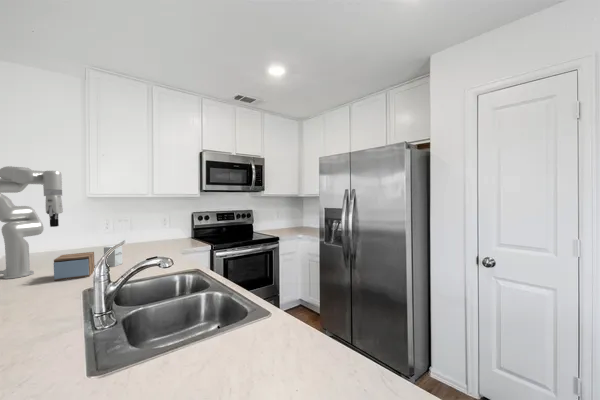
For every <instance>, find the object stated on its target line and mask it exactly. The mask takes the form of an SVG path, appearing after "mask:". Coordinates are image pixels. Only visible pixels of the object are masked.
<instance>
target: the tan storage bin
mask: <svg viewBox="0 0 600 400" xmlns="http://www.w3.org/2000/svg"><path fill="white" fill-rule="evenodd" d="M85 259H88V265H89V275H84V276H76V277H68V278H60V279H54V282H57V281H64V280H72V279H80V278H89V277H90V276H91V275H92V274H93V273H94V272H95V271H94V268H95V252H94V251H89V252H79V253H70V254H68V253H67V254H61V255H59V256H58V257H56V258H54V259H53V264H54V263H56V262H66V261H70V260H85ZM93 271H94V272H93Z"/></svg>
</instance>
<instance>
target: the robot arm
mask: <svg viewBox="0 0 600 400" xmlns="http://www.w3.org/2000/svg"><path fill="white" fill-rule="evenodd" d="M62 179H63V178H62V173H61V171H59V170H58V171H57V170H33V169H31V168H29V167H23V166H12V165H9V166H2V167H1V168H0V222H1V223H4V224H3V225H2V226H1V229H0V230H1V235H2V237H3V242H4V251H5V252H4V253H5V269H3V270H0V275H2V276H1V278H2V279H4V280H6V279H7V280H8V279H9V280H10V279H17V278H24V277H29V276H31V275H34V273H35V272H34V270H31V268H30V267H31V266H30V264H31V263H30V245H29V242H28V241H27V240H26V239H25V238H26V237H35V236H39V235H41V234H42V233H43V232H44V230H45V229H44V228H45V227H44V225H43V222H42V220H41V219H40V217H39V215H38V213H37V211H36V210H35V209H34V208H33V207H32V206H30V205H29V206H28V205H15V204H14V203H13V201H12V199H10V197H8V196H6V195H4V193H10V194H11V193H12V194H14V193H15V194H16V193H21V192H23V190H25V189H26V188H27V187H28V186H29V185H43V186H42V187H43V197H45V213H46V214H47V215H48V216H49V227H50V228H52V227H53V228H57V227H59V226H60V225H59V214H62V213H63V212H64V211H63V209H64V208H63V200H62V196H63V184H62V183H63V181H62Z"/></svg>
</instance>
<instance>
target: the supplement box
mask: <svg viewBox="0 0 600 400" xmlns="http://www.w3.org/2000/svg"><path fill="white" fill-rule="evenodd" d="M115 245H116V244H115ZM115 245H107V246H105V247H103V255H104V254H105V253H106V252H107V251H108V250H109V249H110V248H112V247H113V246H115ZM107 264H108V265H109V266H110V267H112V268H114V267H117V266H121V265H122V264H123V245H122V246H120V247H118V248H116V249H115V250H114V251H113V252H112V253H111V254H110V255H109V256H108V258H107Z"/></svg>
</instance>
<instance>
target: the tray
mask: <svg viewBox="0 0 600 400" xmlns="http://www.w3.org/2000/svg"><path fill="white" fill-rule="evenodd" d="M84 275H89V265H88V259H85V260H75V261H66V262H56V263H54V262H53V279H54V280H55V279H60V278H68V277H76V276H84Z"/></svg>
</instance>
